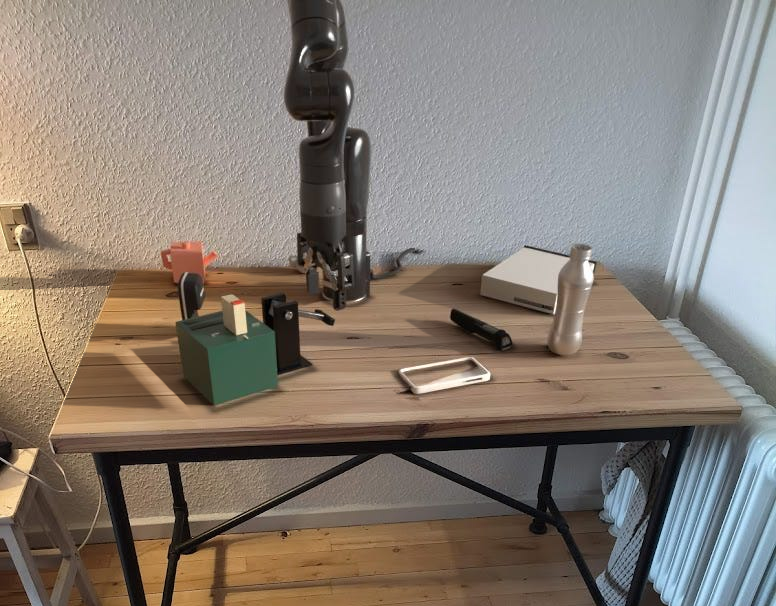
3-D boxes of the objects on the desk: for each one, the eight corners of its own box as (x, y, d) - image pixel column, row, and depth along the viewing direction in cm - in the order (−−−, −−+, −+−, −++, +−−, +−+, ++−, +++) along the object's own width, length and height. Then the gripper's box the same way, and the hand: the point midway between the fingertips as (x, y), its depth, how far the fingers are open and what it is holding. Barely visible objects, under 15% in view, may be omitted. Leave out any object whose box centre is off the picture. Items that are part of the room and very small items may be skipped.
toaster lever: (317, 319, 141) (321, 306, 140) (332, 329, 138) (336, 316, 137) (264, 310, 133) (267, 296, 132) (278, 320, 130) (282, 306, 129)
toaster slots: (232, 310, 131) (232, 309, 131) (242, 317, 129) (242, 317, 129) (183, 322, 127) (183, 321, 127) (192, 330, 125) (192, 329, 125)
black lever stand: (293, 354, 143) (289, 288, 135) (312, 369, 138) (310, 301, 131) (254, 365, 139) (248, 297, 131) (273, 381, 135) (268, 312, 127)
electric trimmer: (458, 320, 158) (460, 305, 156) (513, 346, 148) (515, 331, 146) (445, 324, 156) (446, 309, 154) (499, 351, 146) (501, 336, 144)
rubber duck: (319, 276, 174) (318, 240, 169) (290, 277, 173) (288, 241, 168) (316, 267, 178) (315, 232, 173) (287, 268, 177) (285, 233, 172)
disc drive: (592, 282, 175) (597, 261, 172) (554, 315, 160) (558, 292, 157) (522, 266, 182) (525, 245, 179) (479, 296, 167) (481, 273, 164)
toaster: (245, 363, 140) (240, 305, 133) (279, 391, 132) (275, 331, 125) (184, 381, 134) (175, 320, 127) (215, 411, 126) (207, 348, 119)
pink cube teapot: (221, 284, 168) (217, 247, 163) (164, 287, 166) (159, 249, 161) (220, 271, 174) (216, 235, 169) (165, 274, 172) (159, 237, 167)
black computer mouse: (204, 342, 146) (197, 283, 139) (184, 342, 146) (176, 283, 139) (210, 326, 151) (203, 269, 144) (190, 326, 151) (183, 269, 144)
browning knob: (223, 325, 126) (220, 295, 123) (235, 323, 127) (231, 292, 124) (236, 335, 123) (233, 304, 120) (247, 332, 124) (244, 301, 121)
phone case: (471, 362, 142) (397, 375, 138) (471, 355, 142) (397, 369, 137) (490, 380, 137) (414, 394, 132) (491, 373, 136) (415, 387, 131)
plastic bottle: (581, 347, 149) (602, 243, 137) (576, 362, 144) (597, 256, 131) (548, 341, 150) (566, 238, 138) (542, 356, 145) (560, 250, 133)
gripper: (366, 214, 124) (366, 309, 134) (318, 192, 132) (321, 283, 143) (327, 223, 120) (330, 320, 130) (280, 199, 129) (287, 292, 139)
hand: (326, 300), depth 136 cm, fingers open, 8 cm apart
